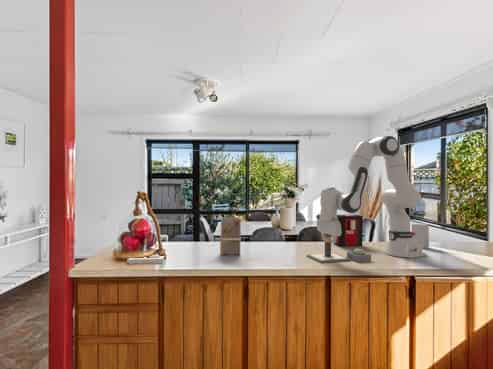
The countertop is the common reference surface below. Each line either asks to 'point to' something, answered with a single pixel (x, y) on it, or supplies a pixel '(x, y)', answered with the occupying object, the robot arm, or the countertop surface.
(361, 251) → the button
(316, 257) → the drawing board
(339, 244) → the cleaning product box
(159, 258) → the holder
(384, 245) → the countertop surface
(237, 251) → the brown tall block
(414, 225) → the skincare box
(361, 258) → the button housing
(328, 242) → the marker
